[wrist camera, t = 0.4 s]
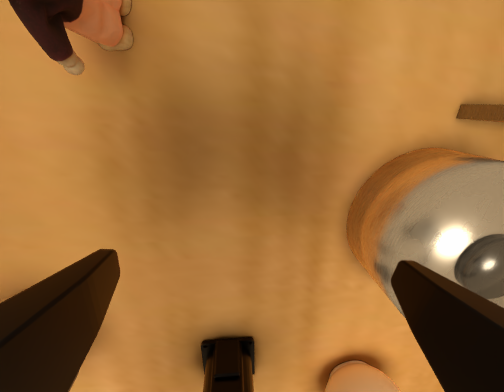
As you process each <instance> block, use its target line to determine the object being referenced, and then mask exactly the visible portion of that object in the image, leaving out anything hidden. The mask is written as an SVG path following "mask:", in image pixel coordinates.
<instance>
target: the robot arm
mask: <svg viewBox="0 0 504 392" xmlns="http://www.w3.org/2000/svg"><path fill="white" fill-rule="evenodd" d="M119 277H120V267H119V261H118V256H117V252H116V251H115V250H113V249H100V250H97V251H96V252H94V253H92V254H90V255H88V256H86V257H85V258H83V259H81V260H79V261H77V262H75V263H74V264H72V265H70V266H68V267H66V268H64V269H63V270H61V271H59V272H57V273H55V274H53V275H52V276H50V277H48V278H46V279H44V280H42V281H41V282H39V283H37V284H35V285H33V286H31V287H30V288H28V289H26V290H24V291H22V292H20V293H18V294H17V295H15V296H13V297H11V298H9V299H7V300H6V301H4V302H2V303H0V392H68V391H69V389H70V387H71V385H72V383H73V381H74V379H75V377H76V375H77V373H78V371H79V369H80V367H81V365H82V363H83V361H84V359H85V357H86V355H87V353H88V352H89V350H90V348H91V346H92V344H93V342H94V340H95V338H96V336H97V333H98V331H99V329H100V327H101V324H102V322H103V320H104V317H105V314H106V312H107V309H108V307H109V304H110V301H111V299H112V296H113V293H114V291H115V288H116V286H117V283H118V280H119ZM391 286H392V288H393V291H394V293H395V295H396V297H397V300H398V302H399V304H400V306H401V309H402V311H403V313H404V315H405V318H406V320H407V322H408V324H409V327H410V329H411V331H412V333H413V335H414V337H415V339H416V340H417V342H418V344H419V346H420V348H421V349H422V351H423V353H424V355H425V357H426V359H427V360H428V362H429V364H430V366H431V368H432V369H433V371H434V373H435V375H436V377H437V379H438V380H439V382H440V384H441V386H442V388H443V389H444V391H445V392H504V308H503V307H501V306H499V305H497V304H495V303H493V302H491V301H489V300H487V299H486V298H484V297H482V296H480V295H478V294H476V293H474V292H472V291H470V290H469V289H467V288H465V287H463V286H461V285H459V284H457V283H455V282H453V281H451V280H450V279H448V278H446V277H444V276H442V275H440V274H438V273H436V272H434V271H433V270H431V269H429V268H427V267H425V266H423V265H421V264H419V263H417V262H415V261H412V260H401V261H399V262H398V264H397V266H396V268H395V271H394V273H393V275H392V277H391ZM201 350H202V358H203V366H204V374H205V377H204V387H203V392H254V389H253V374H254V373H255V372H254V339H253V338H252V337H246V338H234V339H221V340H208V341H203V342H202V344H201Z"/></svg>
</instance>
